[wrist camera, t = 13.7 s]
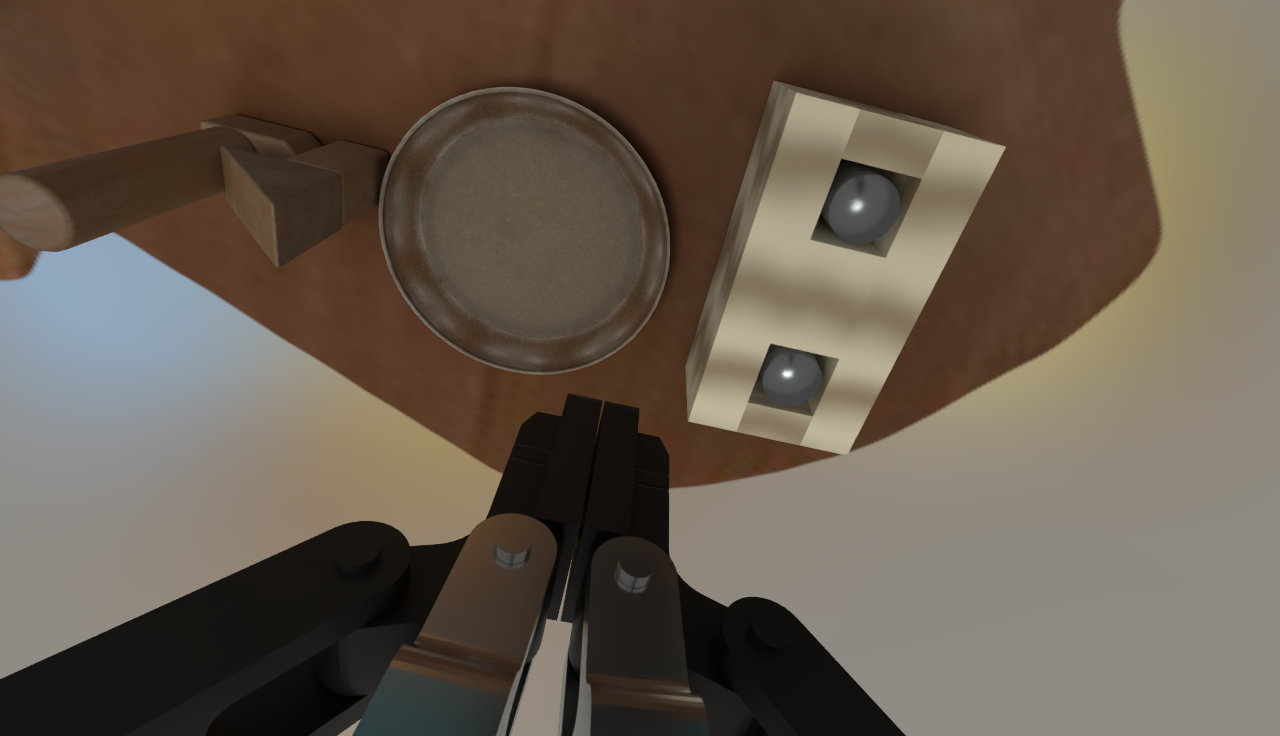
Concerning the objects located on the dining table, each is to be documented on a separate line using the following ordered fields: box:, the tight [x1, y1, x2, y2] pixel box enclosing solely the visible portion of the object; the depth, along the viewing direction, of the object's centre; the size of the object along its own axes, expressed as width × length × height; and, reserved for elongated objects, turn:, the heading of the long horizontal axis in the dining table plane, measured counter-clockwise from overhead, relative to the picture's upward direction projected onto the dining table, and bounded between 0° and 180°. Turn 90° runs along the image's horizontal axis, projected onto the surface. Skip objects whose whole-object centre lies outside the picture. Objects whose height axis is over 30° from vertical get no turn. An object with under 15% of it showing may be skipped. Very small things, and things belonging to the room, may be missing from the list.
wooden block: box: [0, 114, 388, 267], centre depth 34 cm, size 4×11×18 cm, turn 77°
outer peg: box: [759, 343, 822, 406], centre depth 44 cm, size 4×4×8 cm
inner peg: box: [820, 158, 900, 244], centre depth 38 cm, size 4×4×8 cm
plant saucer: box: [379, 87, 670, 374], centre depth 43 cm, size 21×21×3 cm
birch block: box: [686, 81, 1006, 455], centre depth 41 cm, size 22×12×8 cm, turn 167°
